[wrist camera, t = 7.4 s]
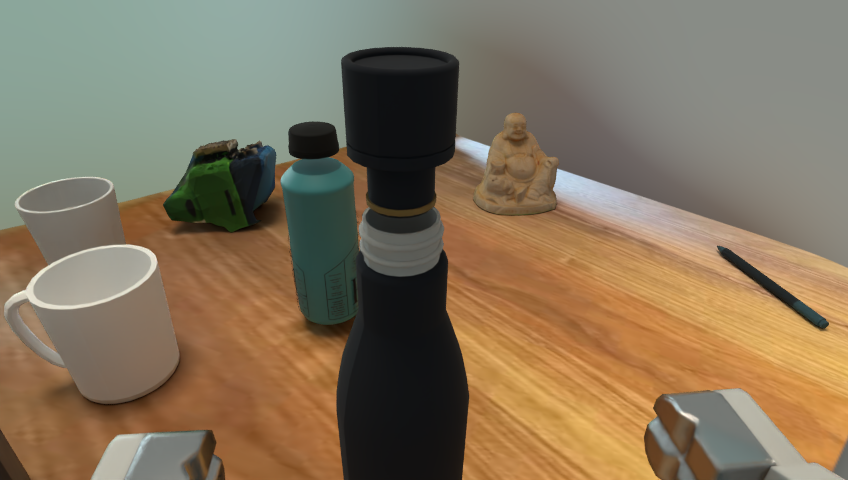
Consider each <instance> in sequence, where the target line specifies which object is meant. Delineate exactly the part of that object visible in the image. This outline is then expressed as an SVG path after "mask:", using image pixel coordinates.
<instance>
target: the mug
mask: <svg viewBox="0 0 848 480" xmlns="http://www.w3.org/2000/svg"><path fill="white" fill-rule="evenodd" d="M26 302H30V303H31V305H32V307H33V309H34V311H35V312H36V314H37V316H38V318H39V319H40V321H41V323H42V325H43V327H44V328H45V330H46V332H47V334H48V335H49V337H50V339H51V341H52V343H53V344H54V346H55V348H56V350H57V352H58V353H57V352H55V351H54V350H52V349H51V348H49V347H48V346H46V345H45V344H44V343H43V342H42V341H41V340H39V339H38V338H37V337H36V336H35V335H34V334H33V333H32V332H31V330H30V329H29V328H28V327H27V326H26V325H25V323H24V322H23V320H22V318H21V317H20V315H19V307H20V306H21V305H22V304H24V303H26ZM4 317H5V319H6V321H7V323H8V324H9V326H10V328H11V329H12V331H13V332H14V333H15V334H16V335H17V336H18V337H19V338H20V339H21V340H22V342H23V343H24V344H25V345H26V346H28V347H29V348H30V349H31V350H33V351H34V352H35V353H36V354H37V355H39V356H40V357H42V358H43V359H45V360H46V361H48V362H50V363H51V364H54V365H57V366H59V367H62V368H67V369H68V371H69V373H70V375H71V376H72V378H73V380H74V382H75V384H76V385H77V387H78V389H79V391H80V392H81V394H82V396H84V397H85V398H87V399H89V400H90V401H93V402H97V403H102V404H117V403H122V402H127V401H131V400H134V399H137V398H140V397H142V396H144V395H146V394H148V393H150V392H152V391H154V390H156V389H157V388H158V387H159V386H161V385H162V384H163V383H165V382H166V381H167V380H168V379H169V377H170V376H171V375H172V374H173V373H174V371H175V369H176V367H177V365H178V363H179V357H180V353H179V349H178V345H177V341H176V337H175V333H174V328H173V324H172V320H171V316H170V312H169V307H168V303H167V299H166V295H165V291H164V286H163V282H162V278H161V274H160V270H159V265H158V262H157V259H156V256H155V254H153V253H152V252H151V251H150V250H148V249H146V248H143V247H141V246H134V245H109V246H100V247H96V248H91V249H87V250H83V251H80V252H77V253H74V254H71V255H68V256H66V257H64V258H62V259H60V260H58V261H56V262H53V263H52V264H50V265H49V266H47V267H46V268H44V269H42V270H41V271H40V272H39V273H38V274H37V275H36V276H34V277H33V278H32V280H31V281H30V283H29V285H28V286H27V290H24V291H22V292H19V293H17V294H14V295H13V296H12V297H11V298H10V299H9V300H8V301H7V302H6V303H5V308H4Z"/></svg>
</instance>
